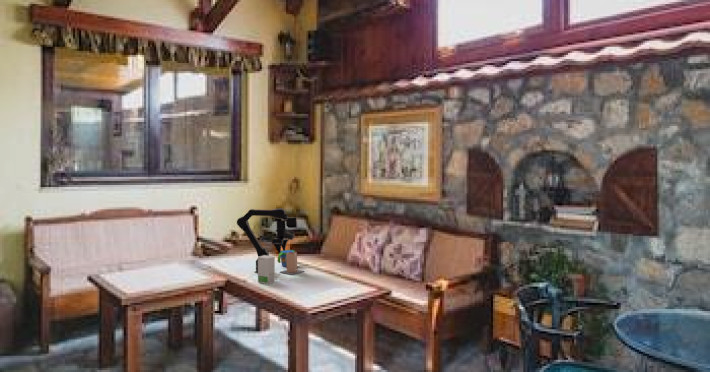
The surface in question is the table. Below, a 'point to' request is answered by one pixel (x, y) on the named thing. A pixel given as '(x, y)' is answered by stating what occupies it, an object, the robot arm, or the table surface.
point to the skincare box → (266, 269)
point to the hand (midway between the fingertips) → (281, 252)
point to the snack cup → (283, 257)
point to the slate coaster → (291, 272)
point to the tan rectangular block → (291, 261)
